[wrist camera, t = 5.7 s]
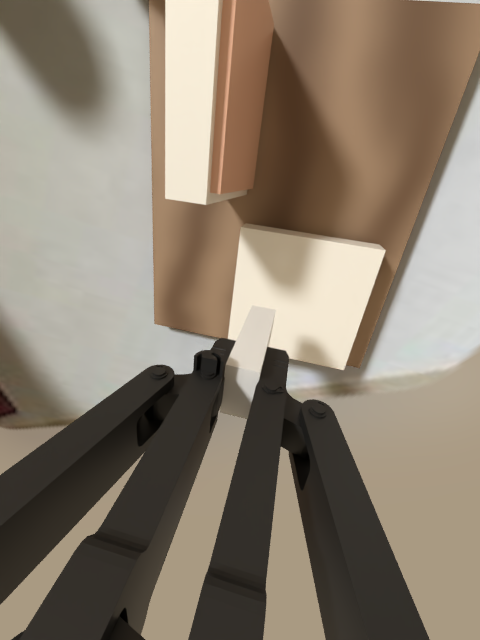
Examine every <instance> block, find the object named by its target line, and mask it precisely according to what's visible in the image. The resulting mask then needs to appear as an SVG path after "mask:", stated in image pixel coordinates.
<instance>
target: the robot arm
mask: <svg viewBox="0 0 480 640" xmlns="http://www.w3.org/2000/svg"><path fill="white" fill-rule="evenodd" d="M275 312H276V310H274V309H269V308H264V307H259V306H254V305H252V307H251V309H250V311H249V313H248V316H247V318H246V320H245V322H244V325H243V327H242V329H241V331H240V333H239V336H238V338H237V340H236V341H235V340H231V339H226V338H220V339H219V340H217V341H215V343H214V345H213V347H212V348H211V350H204V351H200V352H198V353H196V354H195V355H194V370H193V372H192V373H191V374H184V375H174V371H173V369H172V368H170V367H169V366H166V365H154V366H151V367H149V368H147V369H145V370H144V371H143V372H141V373H140V374H139V375H137V376H136V377H134V378H133V379H132V380H130V381H129V382H128V383H126V384H125V385H123V386H122V387H121V388H119V389H118V390H117V391H115V392H114V393H112V394H111V395H110V396H108V397H107V398H106V399H104V400H103V401H101V402H100V403H99V404H97V405H96V406H95V407H93V408H92V409H90V410H89V411H88V412H86V413H85V414H84V415H82V416H81V417H79V418H78V419H77V420H75V421H74V422H73V423H71V424H70V425H68V426H67V427H66V428H64V429H63V430H62V431H60V432H59V433H57V434H56V435H55V436H54V437H52V438H51V439H49V440H48V441H47V442H45V443H44V444H42V445H41V446H40V447H38V448H37V449H36V450H34V451H33V452H31V453H30V454H29V455H27V456H26V457H24V458H23V459H22V460H20V461H19V462H18V463H16V464H15V465H14V466H12V467H11V468H9V469H8V470H7V471H5V472H4V473H2V474H1V475H0V604H1V603H2V602H3V601H4V600H5V599H6V598H7V597H8V596H9V595H10V594H11V593H12V592H13V591H14V590H15V589H16V588H17V587H18V585H19V584H20V583H21V582H22V581H23V580H24V579H25V578H26V577H27V576H28V575H29V574H30V573H31V572H32V571H33V570H34V568H35V567H36V566H37V565H38V564H39V563H40V562H41V561H42V560H43V559H44V558H45V557H46V556H47V555H48V554H49V552H50V551H52V549H53V548H54V547H55V546H56V545H57V544H58V543H59V542H60V541H61V540H62V539H63V538H64V537H65V536H66V535H67V534H68V533H69V531H70V530H71V529H72V528H73V527H74V526H75V525H76V524H77V523H78V522H79V521H80V520H81V519H82V518H83V517H84V516H85V515H86V513H87V512H88V511H89V510H90V509H91V508H92V507H93V506H94V505H95V504H96V503H97V502H98V501H99V500H100V498H101V497H102V496H103V495H104V494H105V493H106V492H107V491H108V490H109V489H110V488H111V487H112V486H113V485H114V484H115V483H116V482H117V481H118V479H119V478H120V477H121V476H122V475H123V474H124V473H125V472H126V471H127V470H128V469H129V468H130V467H131V466H132V465H133V464H134V463H135V462H136V461H137V459H138V458H139V457H140V456H141V455H142V454H143V453H144V452H145V453H144V455H143V457H142V458H141V460H140V461H139V463H138V465H137V466H136V468H135V470H134V471H133V473H132V475H131V476H130V478H129V480H128V481H127V483H126V485H125V486H124V488H123V490H122V492H121V493H120V495H119V497H118V498H117V500H116V502H115V503H114V505H113V507H112V508H111V510H110V512H109V513H108V515H107V517H106V519H105V520H104V522H103V523H102V525H101V527H100V528H99V529H98V531H97V532H96V533H95V534H93V535H90V536H87V537H86V538H85V539H84V540H83V541H82V542H81V543H80V545H79V546H78V547H77V549H76V550H75V552H74V553H73V555H72V556H71V558H70V560H69V561H68V563H67V564H66V566H65V568H64V570H63V571H62V572H61V574H60V576H59V577H58V579H57V580H56V582H55V584H54V585H53V587H52V588H51V590H50V592H49V593H48V595H47V596H46V598H45V600H44V601H43V603H42V604H41V606H40V608H39V609H38V611H37V612H36V614H35V616H34V617H33V619H32V620H31V622H30V624H29V625H28V627H27V628H26V630H24V631H23V632H21V633H20V634H18V635H17V636H16V637H14V638H13V639H12V640H145V639H144V638H143V637H142V636H141V632H142V629H143V626H144V622H145V619H146V615H147V610H148V606H149V602H150V599H151V596H152V593H153V590H154V588H155V585H156V582H157V580H158V577H159V574H160V571H161V569H162V566H163V564H164V561H165V558H166V556H167V553H168V550H169V548H170V545H171V542H172V539H173V537H174V534H175V531H176V529H177V526H178V523H179V521H180V518H181V516H182V513H183V510H184V508H185V505H186V502H187V500H188V497H189V494H190V491H191V489H192V486H193V484H194V481H195V478H196V475H197V473H198V470H199V468H200V465H201V462H202V460H203V457H204V454H205V451H206V449H207V446H208V443H209V441H210V438H211V436H212V433H213V430H214V428H215V425H216V422H217V417H218V411H219V409H220V412H221V413H225V414H229V415H233V416H237V417H241V418H245V419H247V423H246V427H245V430H244V434H243V438H242V442H241V446H240V449H239V453H238V457H237V461H236V465H235V469H234V473H233V476H232V480H231V484H230V488H229V492H228V496H227V500H226V504H225V507H224V512H223V515H222V519H221V523H220V527H219V530H218V534H217V538H216V543H215V546H214V550H213V554H212V558H211V562H210V565H209V568H208V572H207V574H206V576H205V580H204V583H203V586H202V590H201V594H200V598H199V602H198V605H197V609H196V613H195V616H194V620H193V624H192V628H191V632H190V635H189V639H188V640H263V632H264V622H265V611H266V590H265V588H266V576H267V566H268V557H269V548H270V539H271V530H272V521H273V511H274V502H275V492H276V484H277V475H278V465H279V456H280V447H283V448H285V449H286V450H288V451H289V458H290V463H291V468H292V473H293V478H294V483H295V488H296V493H297V498H298V503H299V508H300V513H301V518H302V523H303V528H304V533H305V538H306V543H307V548H308V553H309V558H310V563H311V568H312V572H313V578H314V583H315V587H316V593H317V598H318V603H319V607H320V613H321V618H322V623H323V628H324V633H325V638H326V640H429V637H428V635H427V632H426V630H425V628H424V625H423V623H422V620H421V618H420V616H419V613H418V611H417V608H416V606H415V604H414V601H413V599H412V597H411V595H410V592H409V590H408V587H407V585H406V582H405V580H404V578H403V575H402V573H401V571H400V568H399V566H398V563H397V561H396V559H395V556H394V554H393V551H392V549H391V547H390V544H389V542H388V540H387V537H386V535H385V532H384V530H383V528H382V525H381V523H380V521H379V519H378V516H377V514H376V511H375V509H374V506H373V504H372V502H371V499H370V497H369V495H368V492H367V490H366V487H365V485H364V483H363V480H362V478H361V475H360V473H359V471H358V468H357V466H356V464H355V461H354V459H353V456H352V454H351V452H350V449H349V447H348V445H347V443H346V440H345V438H344V435H343V433H342V430H341V428H340V426H339V423H338V421H337V418H336V416H335V414H334V412H333V410H332V409H331V408H330V407H329V406H328V405H327V404H326V403H324V402H321V401H319V400H314V399H313V400H307V401H305V402H304V403H301V402H299V401H297V400H295V399H293V398H292V397H291V396H290V395H289V394H288V392H287V390H286V380H287V371H288V362H289V356H288V354H287V352H286V351H285V350H280V349H276V348H271V347H269V343H270V338H271V333H272V328H273V323H274V317H275ZM220 406H221V407H220Z"/></svg>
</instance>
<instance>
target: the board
mask: <svg viewBox="0 0 480 640" xmlns="http://www.w3.org/2000/svg"><path fill="white" fill-rule="evenodd" d="M269 4H270V8H271V13H272V17H273V22H274V28H273V36H272V44H271V52H270V60H269V67H268V75H267V83H266V91H265V99H264V107H263V114H262V122H261V130H260V138H259V146H258V154H257V161H256V169H255V177H254V185H253V189H248V190H247V195H243V196H240V197H236V198H232V199H228V200H224V201H220V202H216V203H212V204H208V205H203V204H197V203H190V202H184V201H177V200H171V199H165V0H149V34H150V91H151V148H152V206H153V263H154V321H155V324H157V325H162V326H167V327H171V328H176V329H181V330H185V331H190V332H195V333H199V334H204V335H209V336H213V337H218V338H226V339H228V333H229V324H230V315H231V307H232V298H233V290H234V281H235V273H236V264H237V255H238V247H239V238H240V230H241V227H242V226H243V225H244V224H246V223H247V224H254V225H260V226H266V227H272V228H279V229H285V230H291V231H298V232H304V233H310V234H316V235H323V236H329V237H335V238H342V239H348V240H354V241H360V242H367V243H373V244H379V245H380V246H382V247H383V248H384V249H385V250H386V251H385V254H384V257H383V260H382V263H381V266H380V268H379V271H378V274H377V277H376V280H375V283H374V286H373V288H372V291H371V294H370V297H369V300H368V303H367V306H366V308H365V311H364V314H363V317H362V320H361V323H360V326H359V328H358V331H357V334H356V337H355V340H354V343H353V346H352V348H351V351H350V354H349V357H348V360H347V363H346V365H348V366H353V367H357V368H360V366H361V363H362V360H363V358H364V355H365V352H366V350H367V347H368V345H369V342H370V339H371V337H372V334H373V331H374V329H375V326H376V323H377V321H378V318H379V315H380V313H381V310H382V308H383V305H384V302H385V300H386V297H387V294H388V292H389V289H390V286H391V284H392V281H393V279H394V276H395V273H396V271H397V268H398V265H399V263H400V260H401V257H402V255H403V252H404V249H405V247H406V244H407V242H408V239H409V236H410V234H411V231H412V228H413V226H414V223H415V220H416V218H417V215H418V213H419V210H420V207H421V205H422V202H423V199H424V197H425V194H426V191H427V189H428V186H429V183H430V181H431V178H432V176H433V173H434V170H435V168H436V165H437V162H438V160H439V157H440V154H441V152H442V149H443V147H444V144H445V141H446V139H447V136H448V133H449V131H450V128H451V125H452V123H453V120H454V117H455V115H456V112H457V110H458V107H459V104H460V102H461V99H462V96H463V94H464V91H465V88H466V86H467V83H468V81H469V78H470V75H471V73H472V70H473V67H474V65H475V62H476V59H477V57H478V54H479V51H480V4H473V3H453V2H433V1H413V0H269Z"/></svg>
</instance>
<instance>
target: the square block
mask: <svg viewBox="0 0 480 640" xmlns="http://www.w3.org/2000/svg"><path fill="white" fill-rule="evenodd" d="M385 251H386V250H385V249H384V248H383V247H382V246H380V245H379V244H373V243H367V242H360V241H354V240H348V239H342V238H335V237H329V236H323V235H316V234H310V233H304V232H298V231H291V230H285V229H279V228H272V227H266V226H260V225H254V224H247V223H246V224H244V225H243V226H242V227H241V230H240V238H239V247H238V255H237V264H236V273H235V281H234V290H233V298H232V307H231V315H230V324H229V333H228V339H231V340H235V341H236V340H237V338H238V336H239V333H240V331H241V329H242V327H243V325H244V322H245V320H246V318H247V316H248V313H249V311H250V309H251V307H252V305H254V306H259V307H264V308H269V309H274V310H276V312H275V317H274V323H273V328H272V333H271V338H270V343H269V347H271V348H276V349H280V350H285V351H286V352H287V354H288V356H289V359H294V360H299V361H303V362H308V363H312V364H317V365H322V366H326V367H331V368H335V369H340V370H344V368H345V366H346V363H347V360H348V357H349V354H350V351H351V348H352V346H353V343H354V340H355V337H356V334H357V331H358V328H359V326H360V323H361V320H362V317H363V314H364V311H365V308H366V306H367V303H368V300H369V297H370V294H371V291H372V288H373V286H374V283H375V280H376V277H377V274H378V271H379V268H380V266H381V263H382V260H383V257H384V254H385Z"/></svg>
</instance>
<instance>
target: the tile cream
mask: <svg viewBox="0 0 480 640" xmlns="http://www.w3.org/2000/svg"><path fill="white" fill-rule="evenodd" d="M273 28H274V22H273V17H272V13H271V8H270V4H269V0H165V199H171V200H177V201H184V202H190V203H197V204H203V205H208V204H212V203H216V202H220V201H224V200H228V199H232V198H236V197H240V196H243V195H247V190H248V189H253V185H254V177H255V169H256V161H257V154H258V146H259V138H260V130H261V122H262V114H263V107H264V99H265V91H266V83H267V75H268V67H269V60H270V52H271V44H272V36H273Z"/></svg>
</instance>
